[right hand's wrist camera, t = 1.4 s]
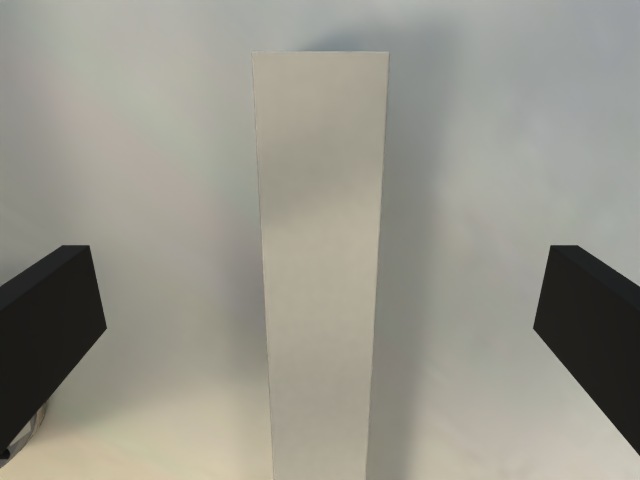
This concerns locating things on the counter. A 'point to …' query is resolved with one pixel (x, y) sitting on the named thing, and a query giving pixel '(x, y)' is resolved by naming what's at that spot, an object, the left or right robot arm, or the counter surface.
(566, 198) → the counter surface
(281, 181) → the beam
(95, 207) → the counter surface
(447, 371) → the counter surface
